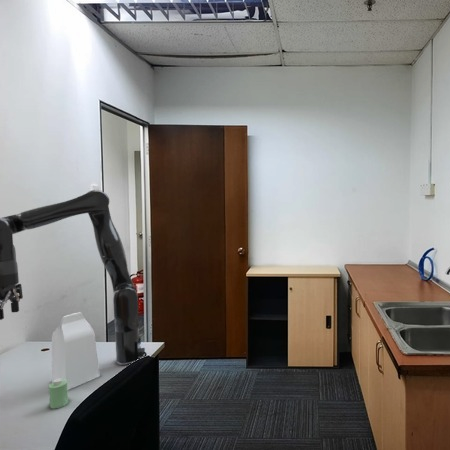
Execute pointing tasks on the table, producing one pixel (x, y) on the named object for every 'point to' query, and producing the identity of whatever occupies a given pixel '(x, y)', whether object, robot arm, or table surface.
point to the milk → (74, 351)
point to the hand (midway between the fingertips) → (7, 315)
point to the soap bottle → (58, 393)
